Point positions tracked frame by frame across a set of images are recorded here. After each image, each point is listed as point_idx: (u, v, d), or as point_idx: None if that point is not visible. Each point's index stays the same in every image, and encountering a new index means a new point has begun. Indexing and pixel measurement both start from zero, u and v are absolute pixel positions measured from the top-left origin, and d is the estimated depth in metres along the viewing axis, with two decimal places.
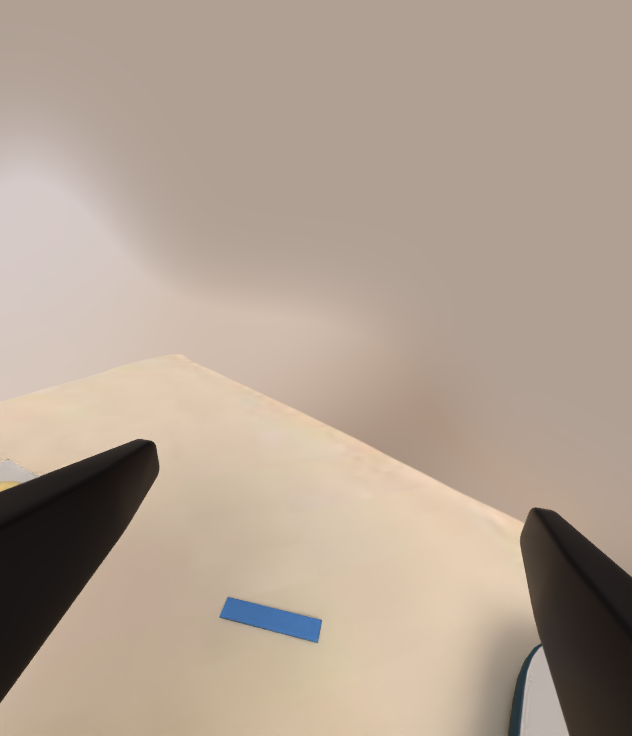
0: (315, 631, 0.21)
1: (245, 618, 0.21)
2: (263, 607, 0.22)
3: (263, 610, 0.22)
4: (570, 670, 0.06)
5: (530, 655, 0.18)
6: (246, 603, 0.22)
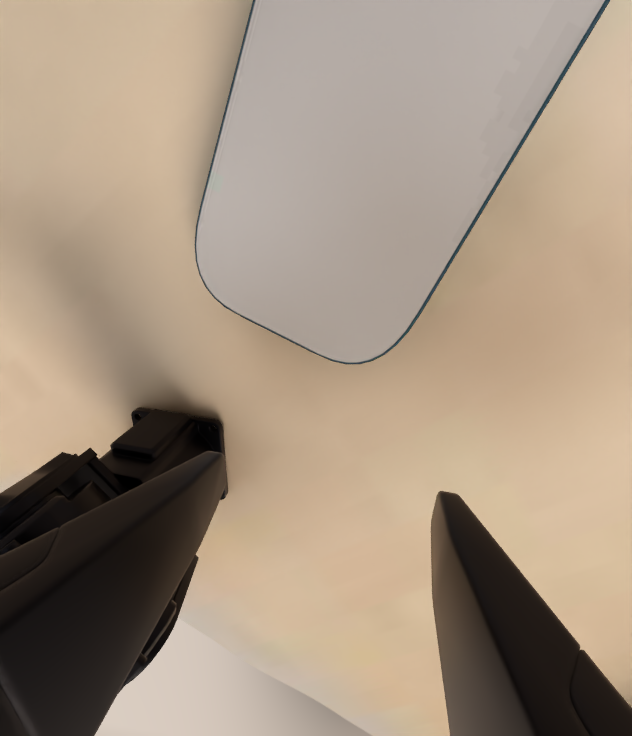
0: None
1: None
2: None
3: None
4: (448, 640, 0.06)
5: None
6: None
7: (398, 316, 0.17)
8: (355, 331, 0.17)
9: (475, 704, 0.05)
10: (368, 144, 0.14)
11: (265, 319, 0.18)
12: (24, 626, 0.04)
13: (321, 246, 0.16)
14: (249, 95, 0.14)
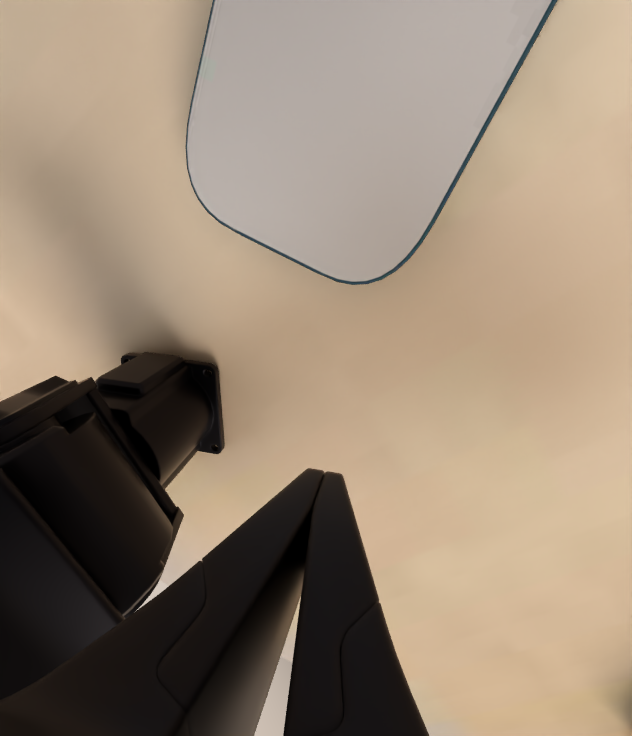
0: None
1: None
2: None
3: None
4: None
5: None
6: None
7: (411, 222, 0.15)
8: (362, 243, 0.16)
9: None
10: (379, 9, 0.13)
11: (263, 234, 0.16)
12: (213, 682, 0.04)
13: (326, 141, 0.14)
14: None
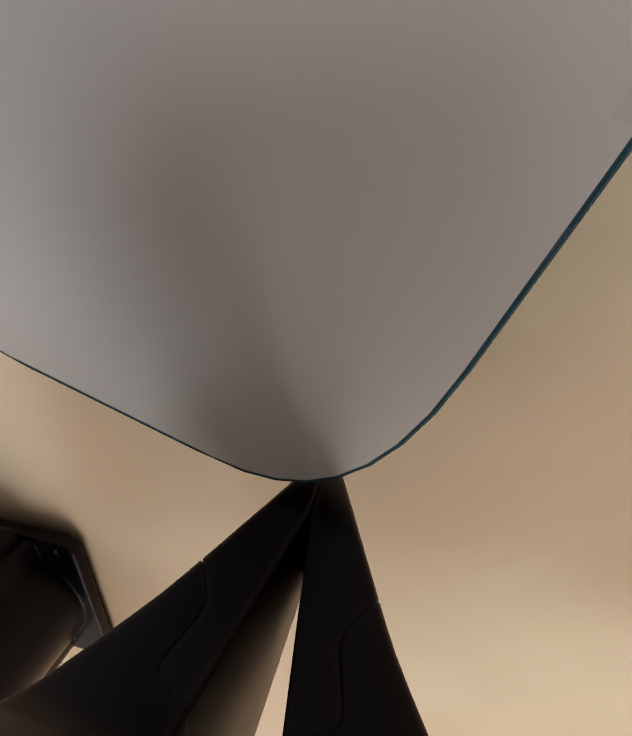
0: None
1: None
2: None
3: None
4: None
5: None
6: None
7: (409, 373, 0.06)
8: (292, 408, 0.06)
9: None
10: None
11: (73, 372, 0.07)
12: (214, 682, 0.04)
13: (170, 164, 0.05)
14: None
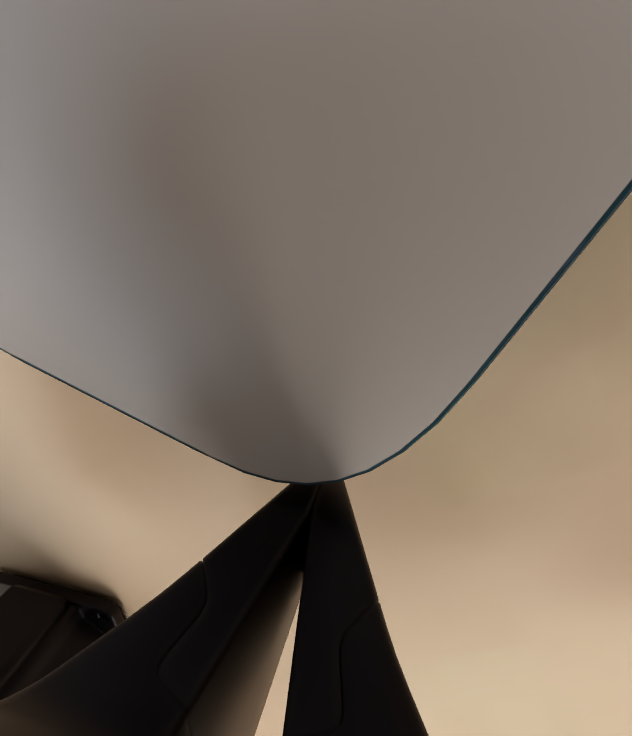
0: None
1: None
2: None
3: None
4: None
5: None
6: None
7: (413, 382, 0.06)
8: (293, 412, 0.06)
9: None
10: None
11: (72, 370, 0.07)
12: (213, 682, 0.04)
13: (171, 163, 0.05)
14: None
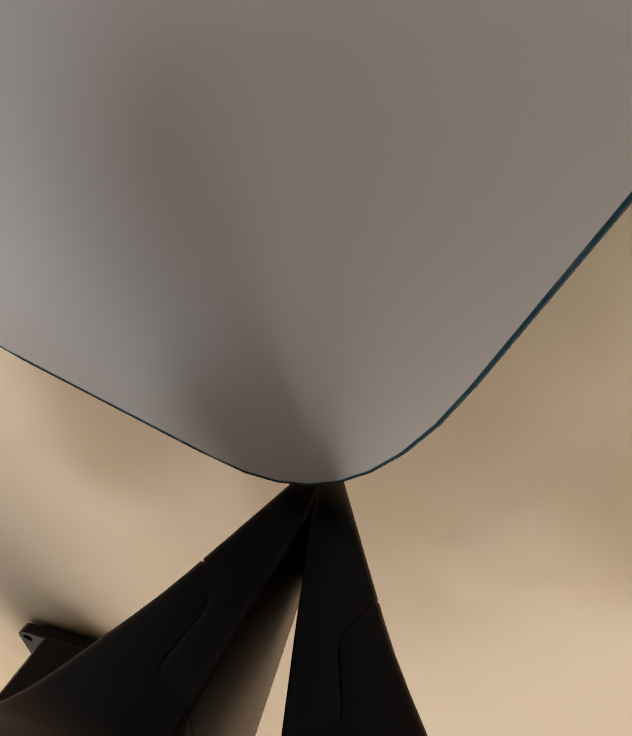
0: None
1: None
2: None
3: None
4: None
5: None
6: None
7: (415, 384, 0.06)
8: (295, 414, 0.06)
9: None
10: None
11: (73, 369, 0.07)
12: (214, 682, 0.04)
13: (173, 161, 0.05)
14: None
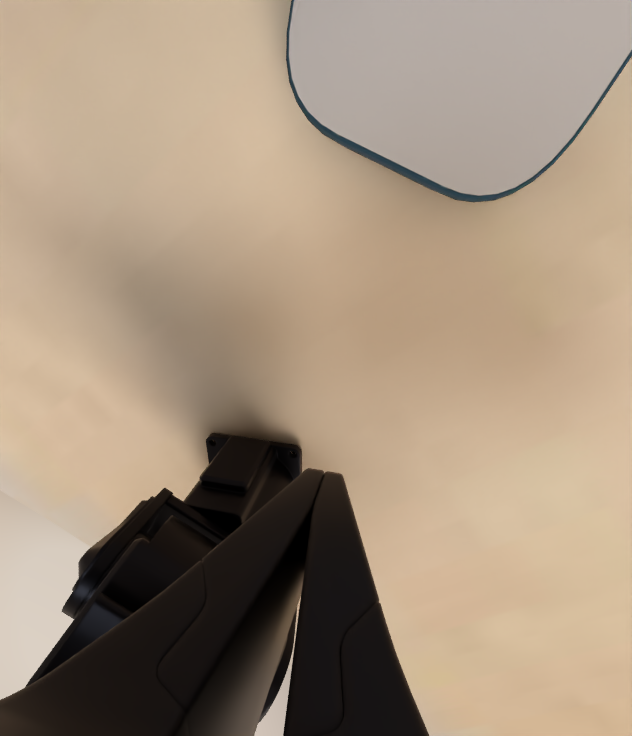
0: None
1: None
2: None
3: None
4: None
5: None
6: None
7: (565, 114, 0.12)
8: (498, 145, 0.13)
9: None
10: None
11: (374, 139, 0.14)
12: (213, 681, 0.04)
13: (468, 10, 0.12)
14: None
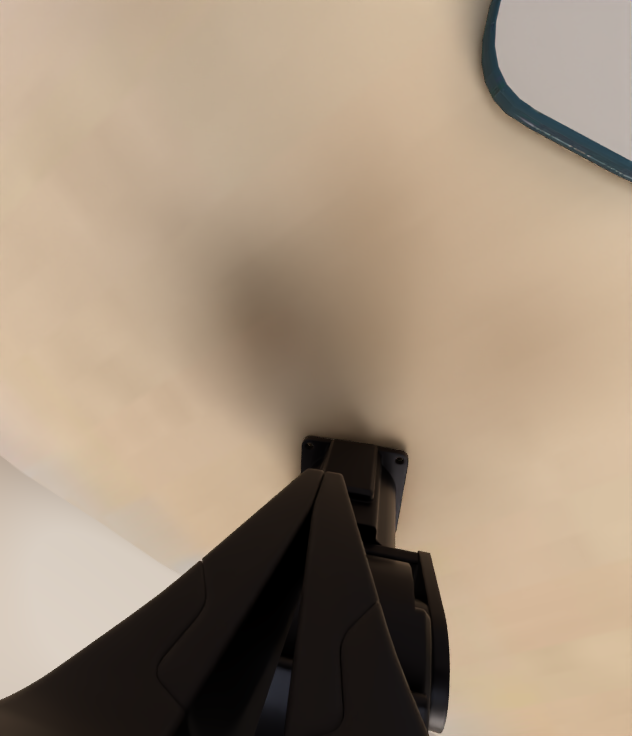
0: None
1: None
2: None
3: None
4: None
5: None
6: None
7: None
8: None
9: None
10: None
11: (580, 117, 0.13)
12: (213, 682, 0.04)
13: None
14: None
